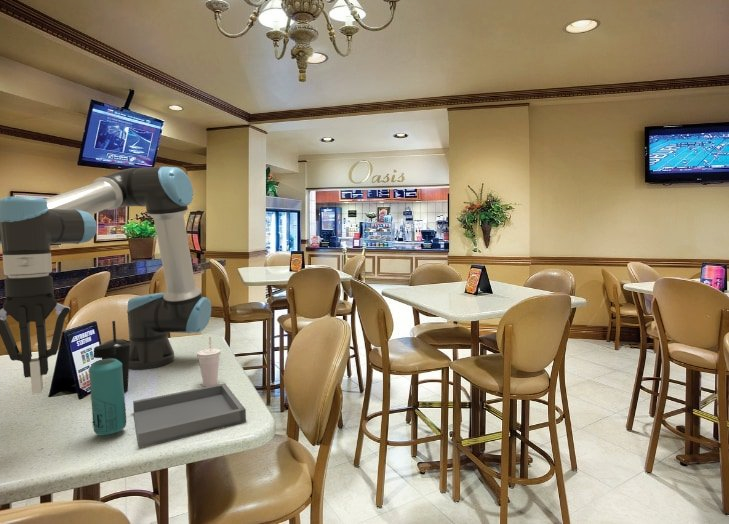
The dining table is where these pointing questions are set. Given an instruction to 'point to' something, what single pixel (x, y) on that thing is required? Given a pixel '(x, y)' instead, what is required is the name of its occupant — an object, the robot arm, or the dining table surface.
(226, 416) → the charcoal tray
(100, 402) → the beverage bottle
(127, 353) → the drinking cup
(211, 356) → the smoothie
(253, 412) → the dining table surface
